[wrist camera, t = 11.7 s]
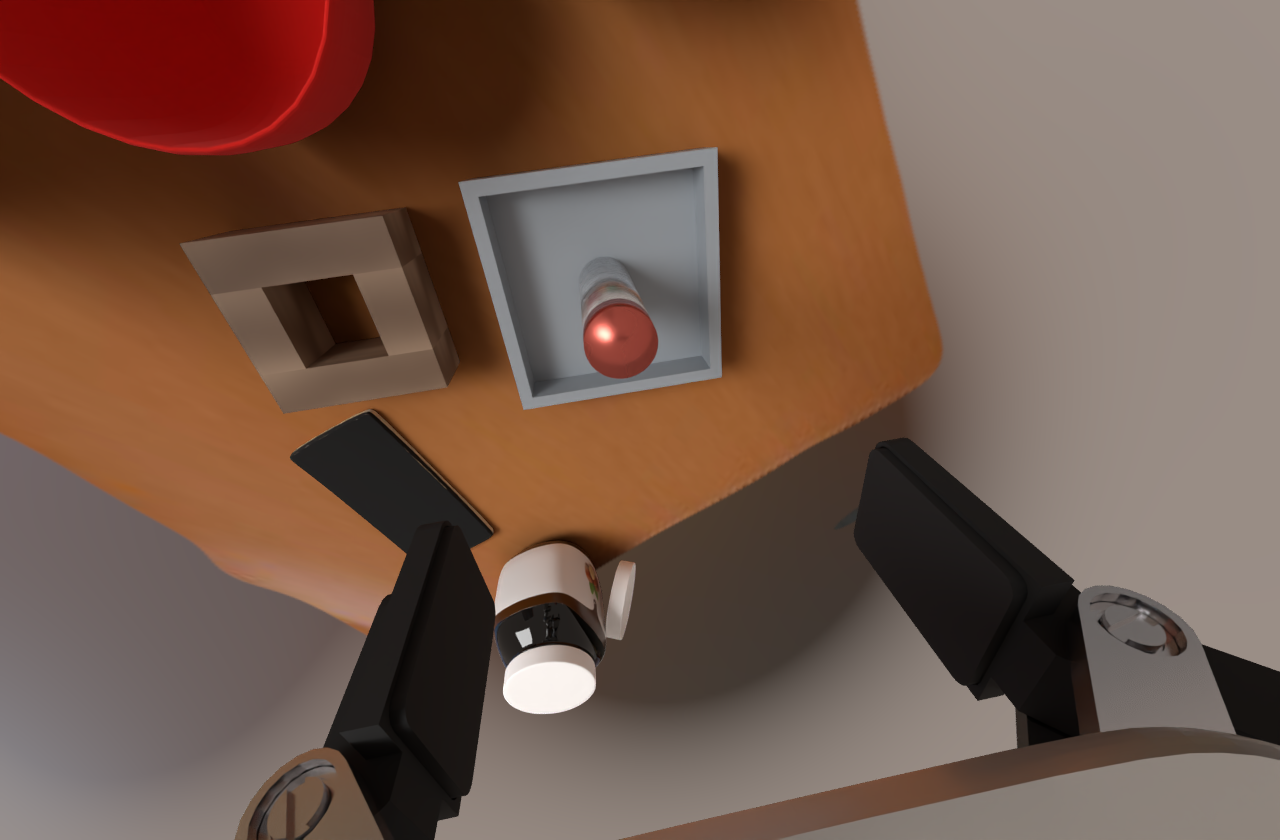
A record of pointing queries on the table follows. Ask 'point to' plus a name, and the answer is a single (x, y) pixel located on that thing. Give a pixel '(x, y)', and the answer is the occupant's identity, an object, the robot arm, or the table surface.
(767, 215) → the table surface
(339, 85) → the red bowl
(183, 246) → the walnut socket block
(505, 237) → the slate tray
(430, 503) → the dark small pieces
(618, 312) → the steel pin
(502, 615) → the jar and lid
